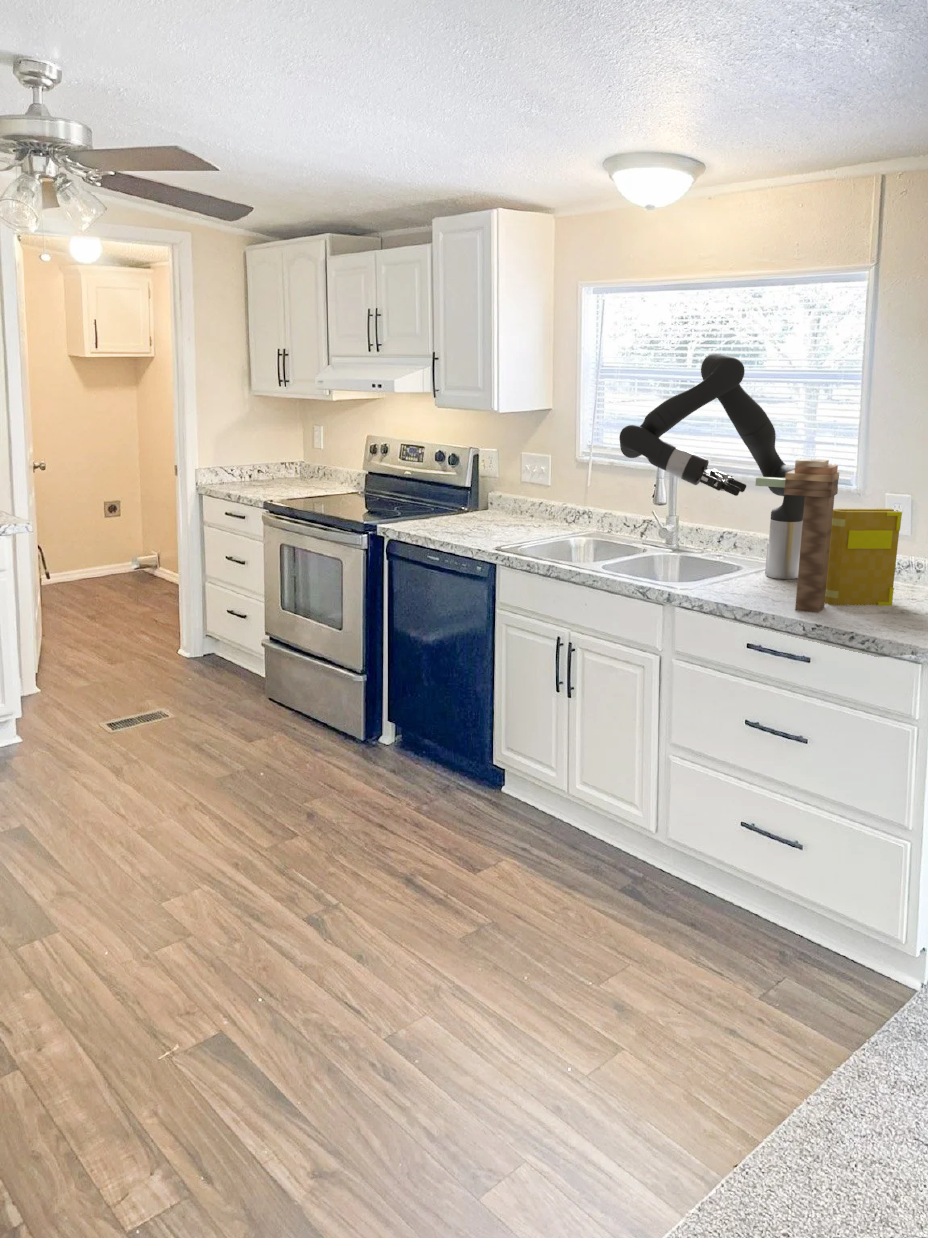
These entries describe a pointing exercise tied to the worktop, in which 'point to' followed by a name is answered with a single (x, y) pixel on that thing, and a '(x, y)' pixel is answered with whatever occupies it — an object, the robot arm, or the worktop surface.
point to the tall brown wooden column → (813, 527)
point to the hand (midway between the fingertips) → (742, 490)
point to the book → (862, 556)
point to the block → (770, 482)
